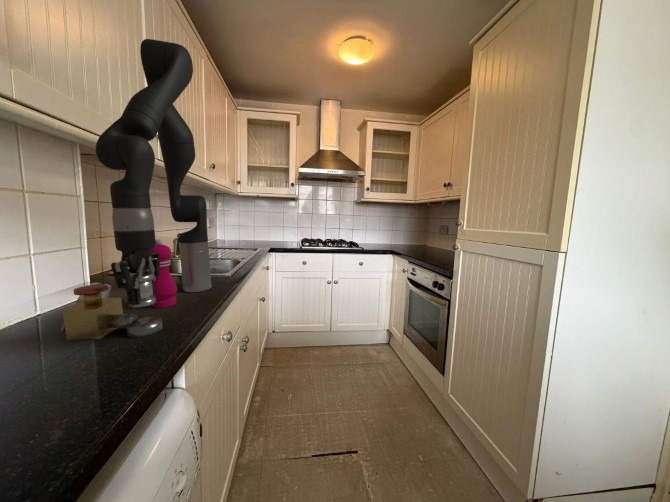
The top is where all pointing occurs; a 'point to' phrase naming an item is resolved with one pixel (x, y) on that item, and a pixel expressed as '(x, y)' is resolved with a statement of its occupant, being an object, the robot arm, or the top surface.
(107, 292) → the hinge
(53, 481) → the top surface
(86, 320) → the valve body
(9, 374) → the top surface
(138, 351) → the top surface
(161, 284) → the pepper mill
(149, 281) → the door knob
